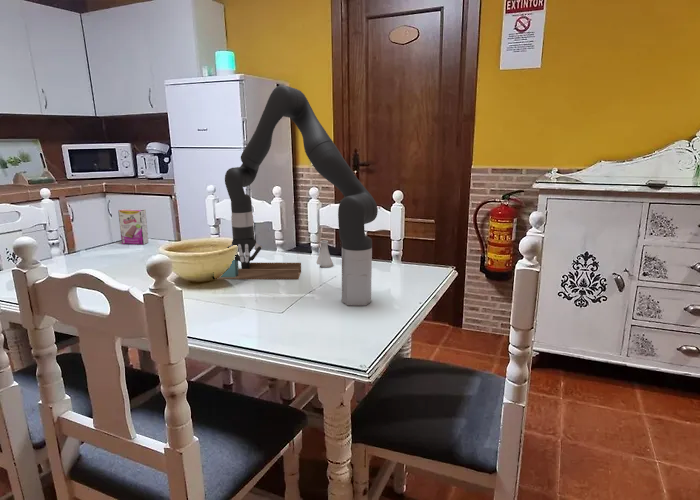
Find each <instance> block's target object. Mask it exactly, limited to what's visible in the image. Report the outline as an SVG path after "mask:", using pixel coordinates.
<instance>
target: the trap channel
mask: <svg viewBox="0 0 700 500" xmlns="http://www.w3.org/2000/svg"><path fill="white" fill-rule="evenodd" d="M301 274H302V262H250V269H241V268H239V269H238V275H237V276H236V277H219V278H217V279H216V280H299V279H300V277H301Z"/></svg>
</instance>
